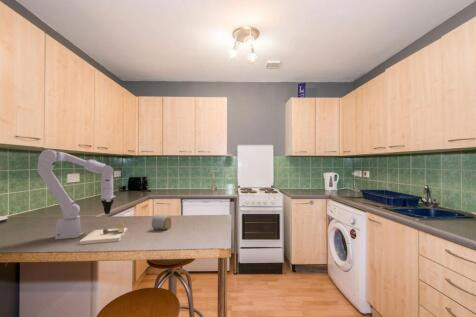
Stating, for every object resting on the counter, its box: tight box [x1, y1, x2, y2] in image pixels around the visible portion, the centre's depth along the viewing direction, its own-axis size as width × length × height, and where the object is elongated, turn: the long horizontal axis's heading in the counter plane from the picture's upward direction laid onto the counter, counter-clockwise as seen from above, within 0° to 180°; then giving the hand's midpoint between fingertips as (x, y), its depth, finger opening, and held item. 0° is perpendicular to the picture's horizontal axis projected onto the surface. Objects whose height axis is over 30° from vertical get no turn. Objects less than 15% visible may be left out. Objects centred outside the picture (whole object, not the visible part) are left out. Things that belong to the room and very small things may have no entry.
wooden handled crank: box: [102, 220, 125, 234], centre depth 116 cm, size 9×2×5 cm, turn 103°
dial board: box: [79, 227, 128, 245], centre depth 115 cm, size 16×18×2 cm
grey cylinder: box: [151, 214, 172, 231], centre depth 129 cm, size 11×8×8 cm
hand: (107, 213), depth 124 cm, fingers closed
